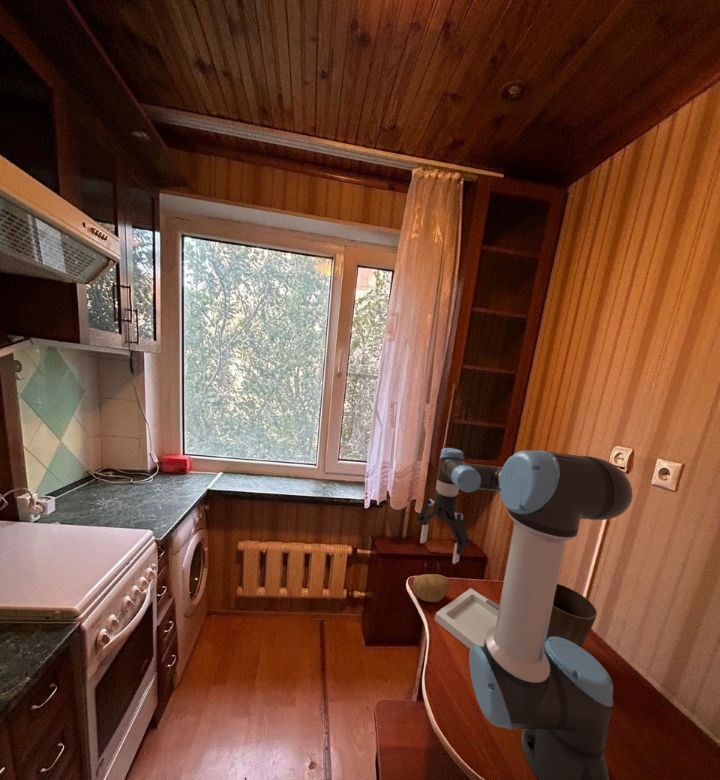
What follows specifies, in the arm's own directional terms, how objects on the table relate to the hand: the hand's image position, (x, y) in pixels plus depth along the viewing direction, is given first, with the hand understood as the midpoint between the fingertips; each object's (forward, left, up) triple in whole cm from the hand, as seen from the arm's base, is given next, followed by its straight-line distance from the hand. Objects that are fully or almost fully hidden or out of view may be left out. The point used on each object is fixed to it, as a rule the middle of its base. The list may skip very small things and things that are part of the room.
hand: (438, 551), depth 107 cm
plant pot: (+16, -35, -17) cm, 42 cm away
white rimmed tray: (+3, -16, -17) cm, 23 cm away
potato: (-1, 0, -17) cm, 17 cm away
